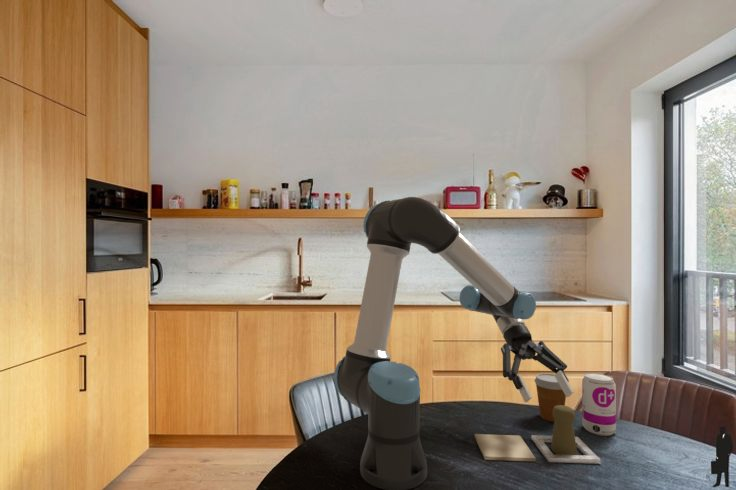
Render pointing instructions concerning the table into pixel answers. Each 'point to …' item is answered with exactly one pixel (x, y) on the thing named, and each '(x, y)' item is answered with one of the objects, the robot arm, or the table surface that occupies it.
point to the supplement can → (599, 404)
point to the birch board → (504, 447)
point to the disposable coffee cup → (548, 395)
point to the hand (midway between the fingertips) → (549, 397)
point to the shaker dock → (586, 458)
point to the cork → (563, 431)
